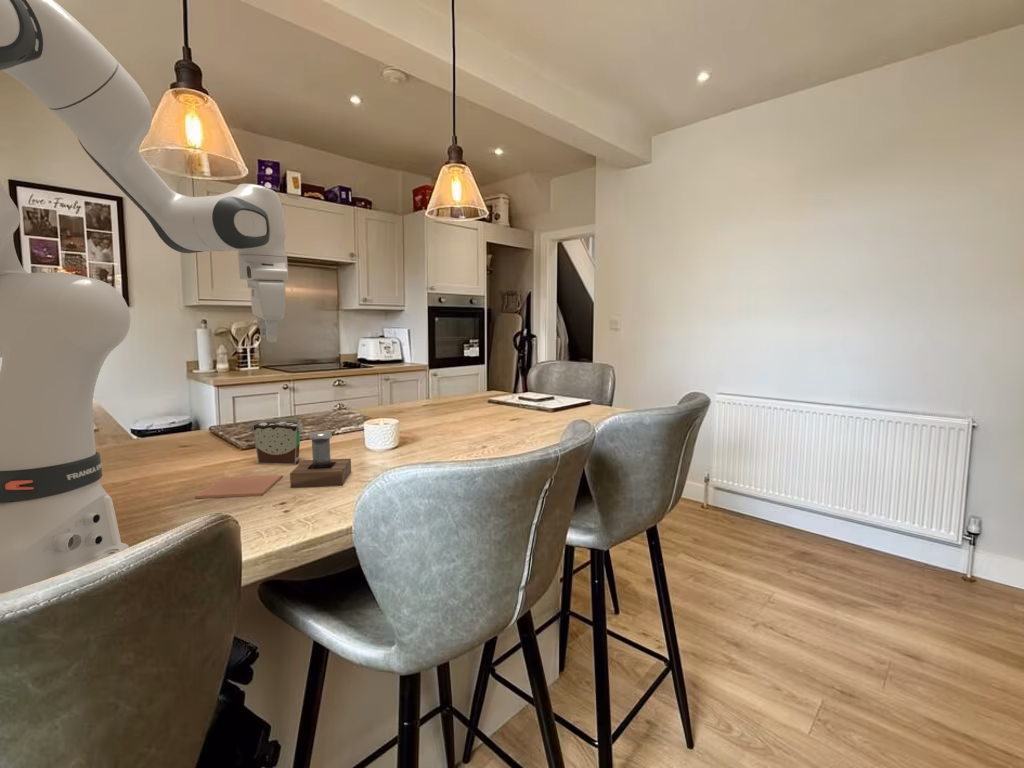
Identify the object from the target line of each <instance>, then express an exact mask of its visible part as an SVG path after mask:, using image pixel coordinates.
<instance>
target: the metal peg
mask: <svg viewBox="0 0 1024 768" xmlns="http://www.w3.org/2000/svg"><path fill="white" fill-rule="evenodd" d="M332 434H333V433H332V431H330V430H329V431H325V430H322V431H321V430H320V431H319V430H318V431H313V432H310V433H309V436H308V438H309V440H310V441H311V449H312V451H311V452H312V460H313V469H326V468H331V444H330V441H331V440H330V439H332V437H333V435H332Z"/></svg>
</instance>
